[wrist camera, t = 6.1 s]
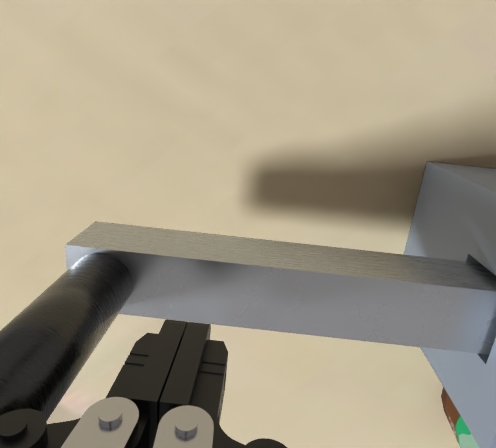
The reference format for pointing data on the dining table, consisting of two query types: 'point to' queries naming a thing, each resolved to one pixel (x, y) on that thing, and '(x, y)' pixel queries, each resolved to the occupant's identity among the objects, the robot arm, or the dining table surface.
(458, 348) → the grey lever black handle
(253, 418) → the dining table surface
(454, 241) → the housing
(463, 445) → the food container
